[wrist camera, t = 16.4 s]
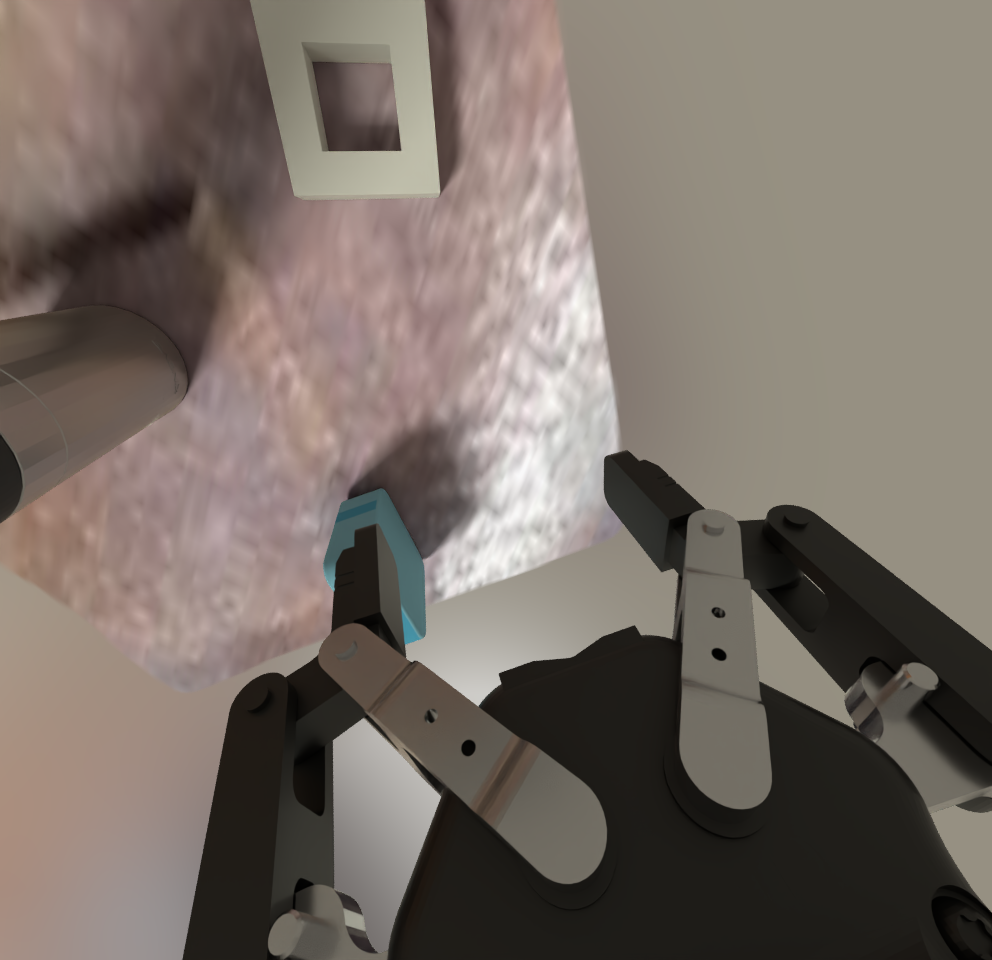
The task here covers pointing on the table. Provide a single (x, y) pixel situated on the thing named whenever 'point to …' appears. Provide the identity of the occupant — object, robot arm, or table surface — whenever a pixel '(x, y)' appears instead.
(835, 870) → the robot arm
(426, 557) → the table surface
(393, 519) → the data package
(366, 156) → the holster
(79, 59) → the table surface
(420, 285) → the table surface
